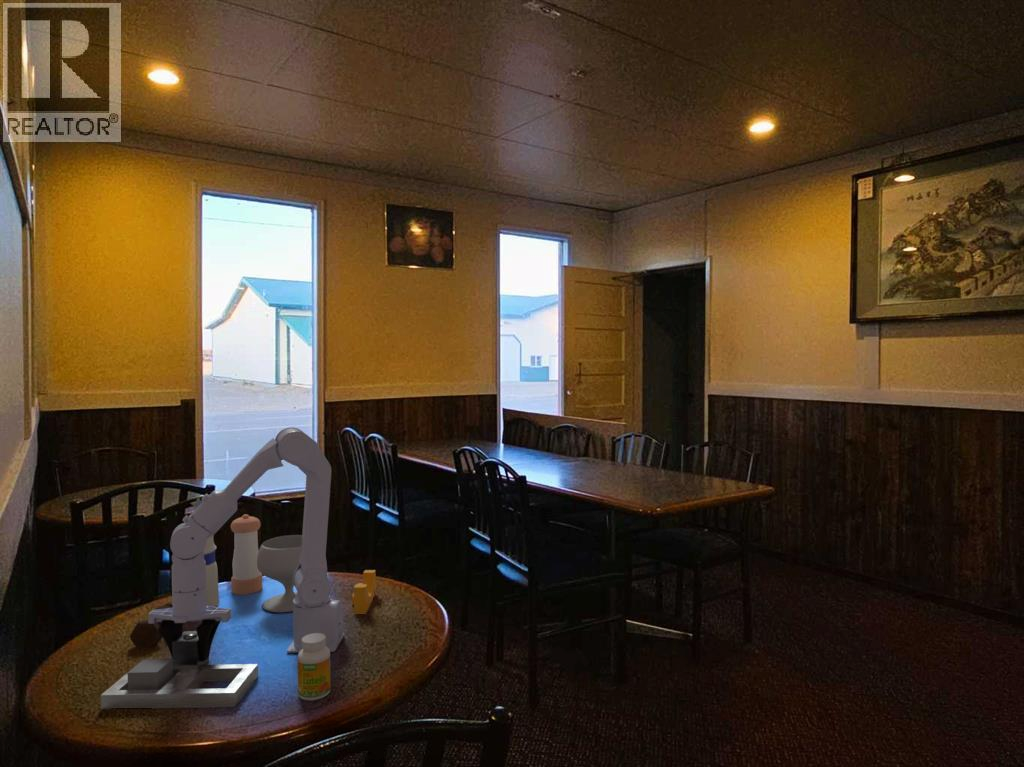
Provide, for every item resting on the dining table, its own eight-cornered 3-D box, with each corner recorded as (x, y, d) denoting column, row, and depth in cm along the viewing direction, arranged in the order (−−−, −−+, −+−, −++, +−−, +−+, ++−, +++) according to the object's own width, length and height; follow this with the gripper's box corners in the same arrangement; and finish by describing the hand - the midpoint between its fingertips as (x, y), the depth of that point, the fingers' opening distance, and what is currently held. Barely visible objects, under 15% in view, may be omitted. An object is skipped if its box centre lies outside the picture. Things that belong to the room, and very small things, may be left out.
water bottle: (173, 607, 147) (170, 501, 147) (208, 596, 154) (206, 495, 154) (191, 615, 143) (189, 506, 142) (227, 603, 150) (224, 499, 149)
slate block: (173, 686, 111) (172, 658, 111) (158, 701, 106) (157, 672, 106) (144, 686, 111) (144, 658, 111) (128, 701, 106) (127, 672, 106)
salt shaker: (261, 593, 156) (259, 516, 156) (229, 596, 154) (227, 519, 153) (263, 583, 163) (262, 510, 163) (233, 586, 161) (231, 512, 160)
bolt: (173, 626, 141) (148, 654, 127) (152, 616, 140) (124, 643, 126) (187, 602, 142) (164, 627, 127) (166, 593, 141) (140, 617, 126)
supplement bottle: (299, 704, 105) (298, 647, 104) (296, 689, 110) (295, 634, 109) (332, 697, 107) (331, 641, 107) (328, 682, 112) (327, 629, 112)
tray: (258, 676, 114) (257, 663, 114) (234, 706, 104) (234, 692, 104) (136, 679, 114) (135, 666, 114) (100, 709, 104) (100, 695, 104)
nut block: (208, 661, 120) (208, 629, 120) (197, 673, 116) (196, 639, 115) (185, 662, 120) (184, 629, 120) (173, 673, 115) (172, 640, 115)
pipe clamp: (358, 596, 154) (357, 570, 154) (375, 595, 154) (375, 569, 154) (346, 615, 142) (346, 587, 142) (365, 615, 142) (365, 587, 142)
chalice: (279, 591, 157) (278, 532, 157) (330, 595, 154) (329, 534, 154) (245, 613, 143) (243, 548, 143) (300, 617, 141) (299, 551, 140)
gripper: (137, 596, 113) (139, 670, 114) (218, 594, 113) (220, 668, 114) (159, 582, 120) (160, 652, 121) (235, 581, 120) (236, 651, 121)
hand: (191, 659), depth 118 cm, fingers closed on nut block, 4 cm apart
